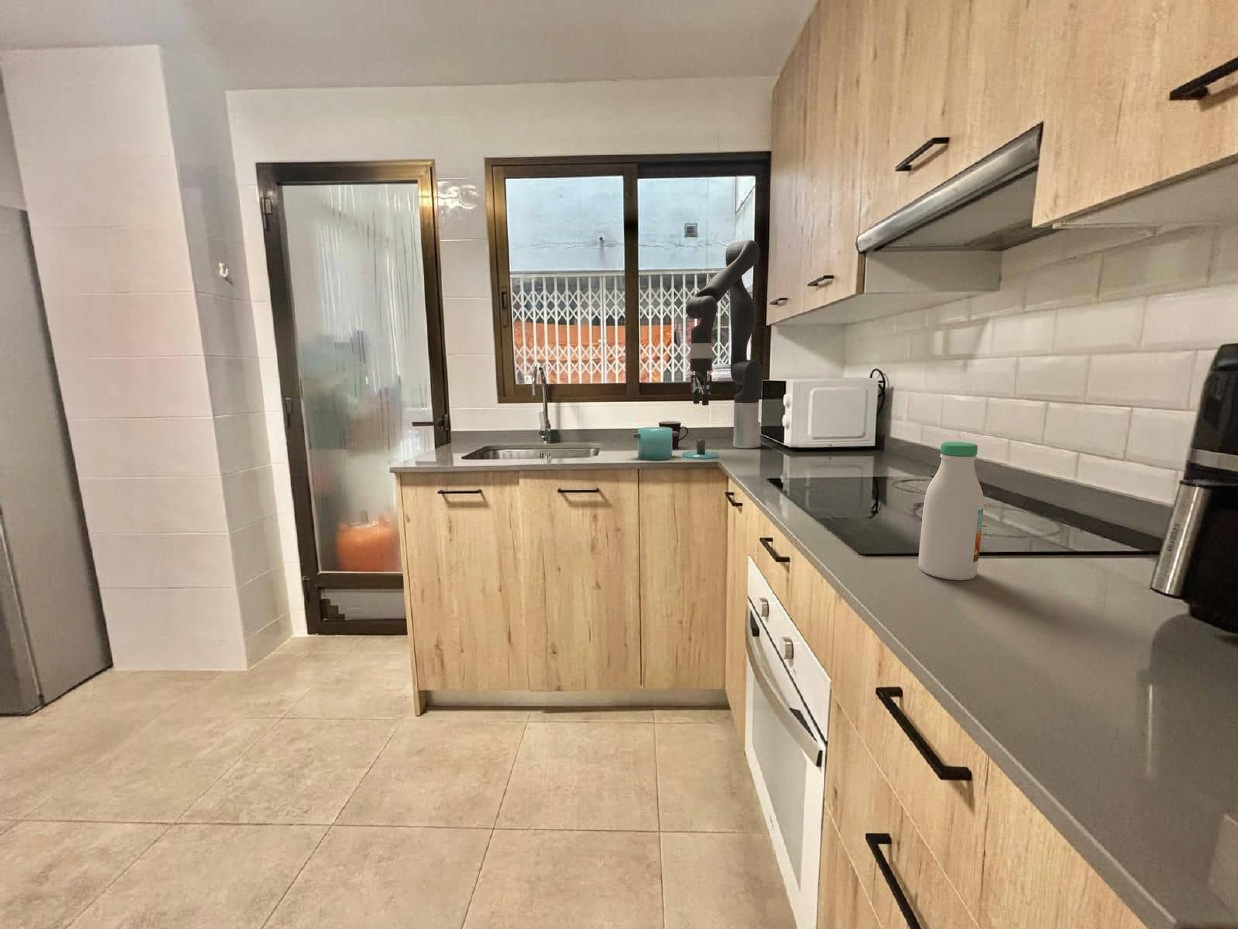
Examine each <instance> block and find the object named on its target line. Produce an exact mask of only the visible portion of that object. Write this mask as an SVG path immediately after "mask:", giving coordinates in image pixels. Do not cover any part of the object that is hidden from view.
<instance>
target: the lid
mask: <svg viewBox="0 0 1238 929" xmlns="http://www.w3.org/2000/svg"><path fill="white" fill-rule="evenodd" d="M681 455H682V457H683V458H684V459H692V460H713V459H718V458H720V455H721V454H720V453H719V452H716V451H712V450H706V439H703V438H699V439H696V450H688V451H684V452H683V453H682V454H681Z"/></svg>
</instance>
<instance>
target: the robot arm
mask: <svg viewBox="0 0 1238 929" xmlns="http://www.w3.org/2000/svg"><path fill="white" fill-rule="evenodd" d="M760 253H761V251H760V247H759V244H758V243H757V242H756V241H755V240H752V239H746V240H742V241H738V242H734V243H730V244H729V245H728V246H727V247H726V249H725V267H724V268H723V269H721V270H720V271H718V272H716V274H715V275H713V276H712V278H711V279H710V280H709V282H708V283H706V285H705V286H704V287H703V288H701V289H700V290H699V291H697V292H696V293H695V294H693V295H692V296H691V297H690V298H689V300H688V301H687V302H686V306H685V312H686V314H687V317H689V318H691V319H693V320H698V319H700V323H699V324H697V325H695V326H693V327H692V328H691V330H690V349H689V350H690V351H689V371H690V372H694V373H693V374H690V387H689V390H690V392H691V393H692V403H693V404H694V405H699V404H700V403H701V405H702V406H705V407H706V406H709V404H710V403H709V400H710V395H711V393H712V392H713V380H712V379H713V378H712V377H713V375H712V374H708V372H711V371H712V370H713V345H712V342H713V341H712V338H713V336H712V335H713V334H712V332H713V328H714V324H715V321H716V317H717V312H718V303H719V302H720V301H721V300H722V298H724V297H725V295H726V294H727V293H729V317H730V319H729V320H730V336H731V337H730V342H731V343H730V344H731V346H730V347H731V352H730V377H731V380H732V382H734V383H735V384H736V385H742V389H741V391H740V392H738V393H736V394H735V395H734V400H733V401H734V402H733V404H734V405H733V440H732V442H733V444H732V446H733V448H738V449H756V448H760V447H761V446H760V444H761V422H760V421H759V414H760V413H759V412H760V411H759V408H760V397H761V394H762V390H763V389H762V386H763V377H764V375H763V374H764V372H763V366H762V364H761V362H760V361H758V360H756V359H748V354H747V353H748V351H747V350H748V346H749V345H748V344H749V341H750V339H751V336H752V335H753V332H754V330H755V326H756V323H757V317H756V316H757V315H756V313H757V312H756V304H755V301H754V299H753V297H752V295H751V294H750V292H748V290H747V288H746V286H745V283H744V282H743V275H745V274H746V273H747V272H748V271H749V270H751V269H752V268H753V267H754V266H755V265H756V264H757V263H758V262H759V259H760ZM728 291H729V292H728ZM700 392H701V395H700ZM700 397H701V399H700ZM700 400H701V402H700Z"/></svg>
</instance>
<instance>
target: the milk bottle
mask: <svg viewBox="0 0 1238 929" xmlns="http://www.w3.org/2000/svg"><path fill="white" fill-rule="evenodd" d="M978 447H979V446H978V445H977V444H975V443H972V442H967V441H966V442H965V441H946V442H945V441H944V442H941V445H940V455H939V457H940V459H941V462H940V464H939V467H938V470H937V472H936V474H935V475H934V476H933V478H932V480H931V481H930V483H929V485H928V487H927V489H926V492H925V496H924V501H923V509H922V519H921V530H920V540H919V549H918V550H919V552H918V567H919V569H920V571H922V572H923V573H925V574H926V575H929V576H933V577H936V578H939V579H944V580H951V581H968V580H972V579H974V578H975V577H976V575H977V572H978V565H979V559H980V558H979V557H980V548H981V539H982V531H983V530H982V529H983V520H984V508H985V505H984V504H985V500H984V492H983V490H982V487H981V484H980V482H979V479H978V477H977V473H976V469H975V460H977V455H978Z"/></svg>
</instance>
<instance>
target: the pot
mask: <svg viewBox="0 0 1238 929" xmlns="http://www.w3.org/2000/svg"><path fill="white" fill-rule="evenodd" d="M672 436H679V437H680V435H679V432H676V431H672V428H668V427H659V426H647V427H646V426H645V427H644V426H643V427H638V428H637V432H631V433H630V437H631V438H632V439H637V457H638V459H640V460H648V461H662V460H663V461H664V460H669V459H673V449H672Z"/></svg>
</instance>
